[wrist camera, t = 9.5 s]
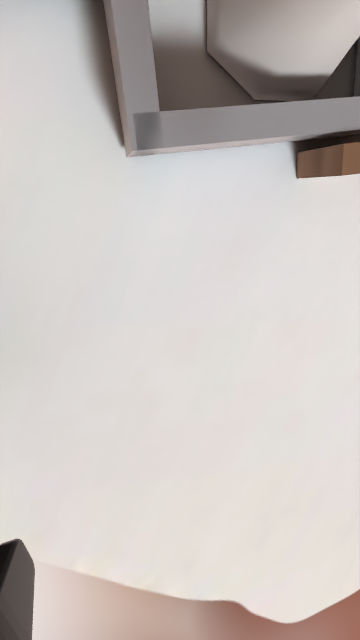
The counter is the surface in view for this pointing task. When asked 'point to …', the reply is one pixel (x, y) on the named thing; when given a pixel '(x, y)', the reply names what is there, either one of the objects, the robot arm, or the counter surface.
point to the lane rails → (329, 161)
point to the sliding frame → (206, 123)
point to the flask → (281, 43)
